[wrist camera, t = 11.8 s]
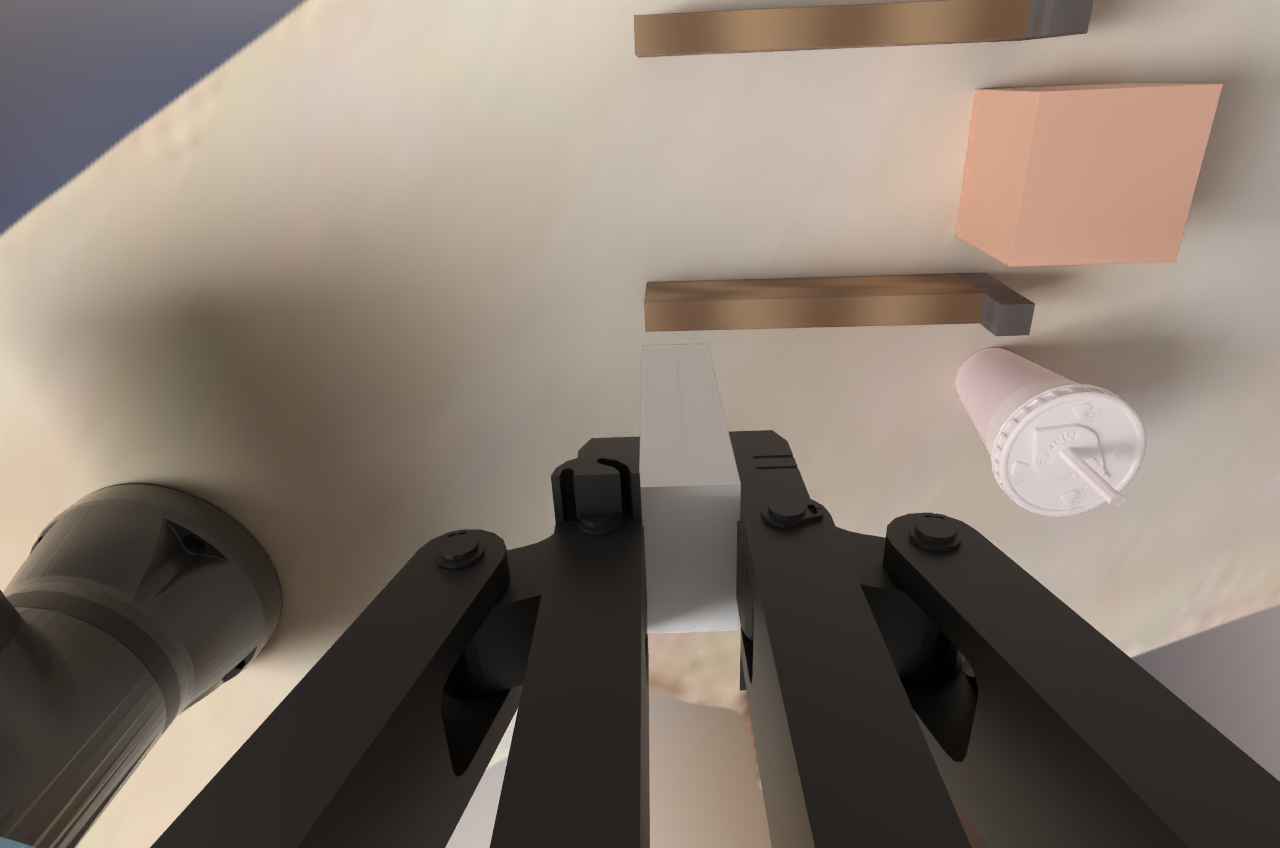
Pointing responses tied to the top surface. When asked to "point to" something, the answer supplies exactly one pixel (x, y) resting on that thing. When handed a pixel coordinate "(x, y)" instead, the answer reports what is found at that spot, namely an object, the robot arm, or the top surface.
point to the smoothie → (1050, 434)
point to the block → (1084, 171)
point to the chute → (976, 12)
